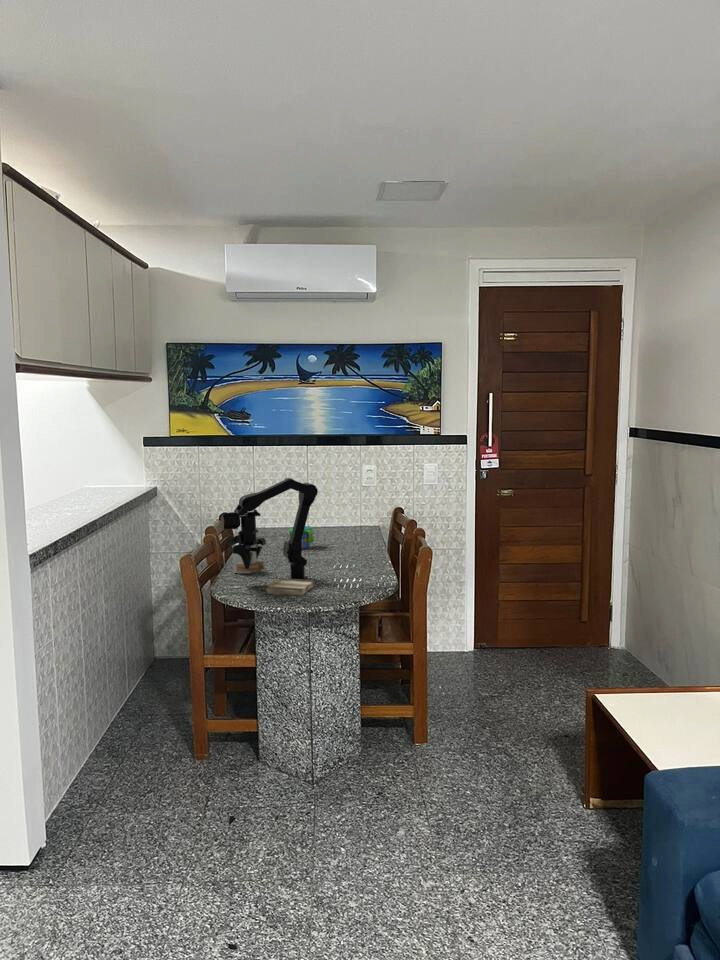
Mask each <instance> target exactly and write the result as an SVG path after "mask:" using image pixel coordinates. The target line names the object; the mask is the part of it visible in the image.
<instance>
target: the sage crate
mask: <svg viewBox="0 0 720 960" xmlns="http://www.w3.org/2000/svg"><path fill="white" fill-rule="evenodd" d="M257 561H258V559H257V560H256V552H253V553H252V557H251V561H250V564H254V563H255V562H257ZM243 564H244V563H243Z"/></svg>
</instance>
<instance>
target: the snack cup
mask: <svg viewBox="0 0 720 960" xmlns="http://www.w3.org/2000/svg"><path fill="white" fill-rule="evenodd" d="M312 529H313V527H312V526H309V525H305V528H304V532H303V536H302V540H301V543H302V550H307V549H309V548H310V546H311V545H310V544H312V543H314V541H315V538H314V535H313V532H312ZM292 530H293V526H292V527H290V529H289V536H288V537H289V539H290V538H291V534H292Z"/></svg>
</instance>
